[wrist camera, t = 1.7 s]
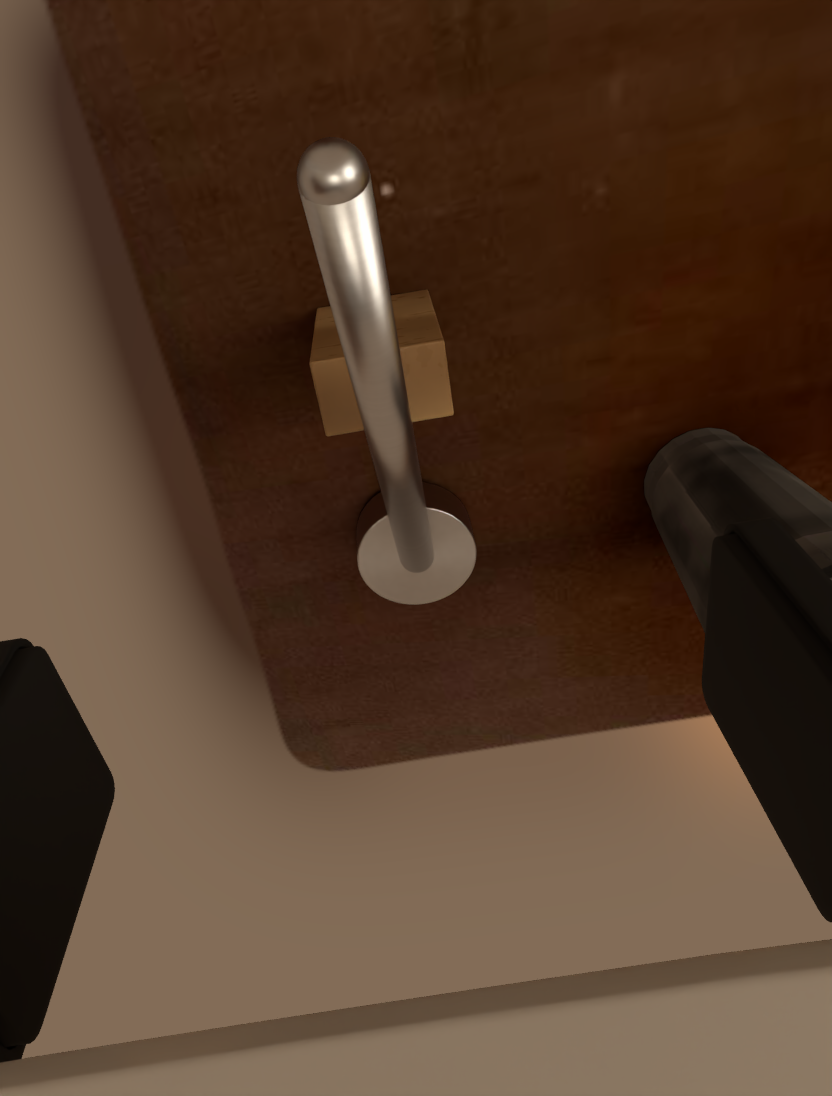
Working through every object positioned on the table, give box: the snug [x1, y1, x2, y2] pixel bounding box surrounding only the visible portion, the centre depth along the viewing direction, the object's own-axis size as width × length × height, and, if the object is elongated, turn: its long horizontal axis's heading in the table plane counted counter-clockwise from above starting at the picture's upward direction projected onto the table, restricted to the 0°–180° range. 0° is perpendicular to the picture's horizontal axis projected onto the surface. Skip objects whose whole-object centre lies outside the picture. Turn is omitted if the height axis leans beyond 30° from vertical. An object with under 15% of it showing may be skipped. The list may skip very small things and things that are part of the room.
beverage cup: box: [644, 428, 832, 632], centre depth 24 cm, size 7×7×20 cm
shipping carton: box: [309, 290, 454, 436], centre depth 26 cm, size 2×4×6 cm, turn 99°
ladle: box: [297, 137, 477, 605], centre depth 24 cm, size 19×5×12 cm, turn 9°
